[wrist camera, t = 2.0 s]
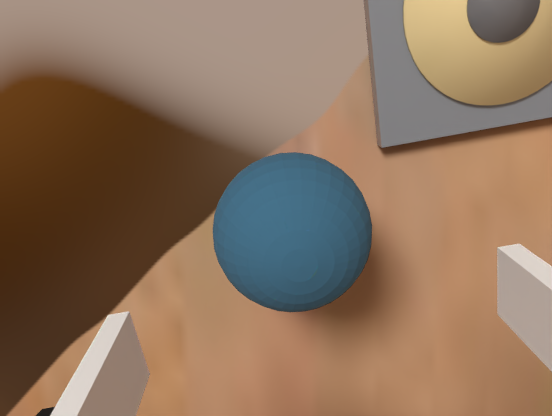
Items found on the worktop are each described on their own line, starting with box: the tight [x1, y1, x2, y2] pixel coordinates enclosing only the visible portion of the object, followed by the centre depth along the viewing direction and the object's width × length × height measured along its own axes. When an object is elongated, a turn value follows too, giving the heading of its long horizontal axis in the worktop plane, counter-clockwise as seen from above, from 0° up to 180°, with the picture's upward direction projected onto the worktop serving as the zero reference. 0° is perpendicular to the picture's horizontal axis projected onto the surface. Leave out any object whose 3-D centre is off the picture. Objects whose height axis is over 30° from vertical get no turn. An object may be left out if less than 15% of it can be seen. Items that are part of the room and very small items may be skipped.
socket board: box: [364, 0, 552, 148], centre depth 27 cm, size 16×15×2 cm
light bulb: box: [213, 152, 372, 312], centre depth 25 cm, size 8×8×12 cm
